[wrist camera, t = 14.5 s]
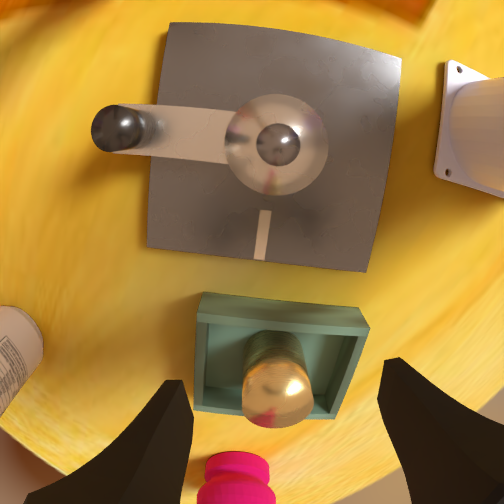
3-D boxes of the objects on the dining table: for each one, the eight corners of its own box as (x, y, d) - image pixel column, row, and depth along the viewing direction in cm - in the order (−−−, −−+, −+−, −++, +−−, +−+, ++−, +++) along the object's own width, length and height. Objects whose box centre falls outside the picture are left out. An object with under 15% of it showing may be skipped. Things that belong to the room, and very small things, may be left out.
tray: (358, 307, 21) (370, 328, 18) (328, 395, 23) (334, 419, 21) (203, 291, 20) (197, 312, 18) (198, 386, 23) (193, 410, 20)
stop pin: (292, 321, 20) (303, 374, 16) (309, 364, 22) (320, 417, 17) (233, 339, 21) (230, 394, 16) (255, 380, 22) (256, 434, 17)
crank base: (394, 61, 15) (402, 58, 14) (361, 266, 20) (366, 273, 19) (173, 27, 15) (169, 21, 14) (151, 241, 19) (146, 247, 18)
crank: (330, 107, 15) (354, 98, 11) (314, 198, 17) (332, 217, 13) (129, 84, 15) (95, 71, 11) (119, 173, 16) (83, 185, 12)
